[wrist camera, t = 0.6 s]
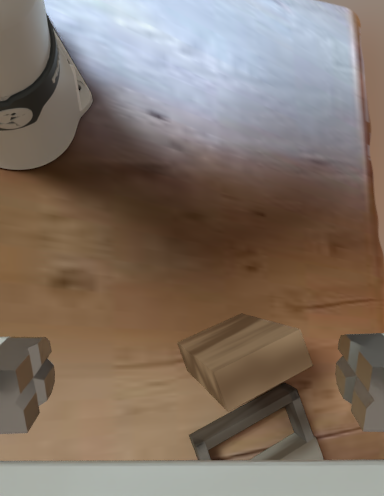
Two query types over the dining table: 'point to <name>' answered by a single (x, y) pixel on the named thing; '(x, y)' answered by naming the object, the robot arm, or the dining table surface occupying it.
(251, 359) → the walnut plank
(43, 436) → the dining table surface
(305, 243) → the dining table surface
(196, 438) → the partly open shallow box
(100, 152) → the dining table surface
